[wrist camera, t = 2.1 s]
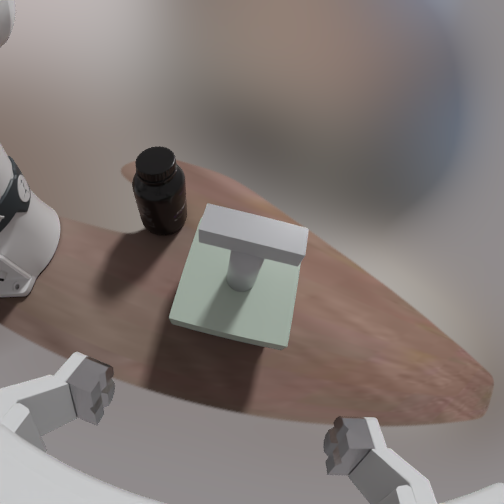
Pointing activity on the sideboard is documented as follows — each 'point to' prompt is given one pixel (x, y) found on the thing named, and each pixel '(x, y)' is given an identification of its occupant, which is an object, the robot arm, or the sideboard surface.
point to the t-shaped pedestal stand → (241, 278)
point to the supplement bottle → (160, 191)
